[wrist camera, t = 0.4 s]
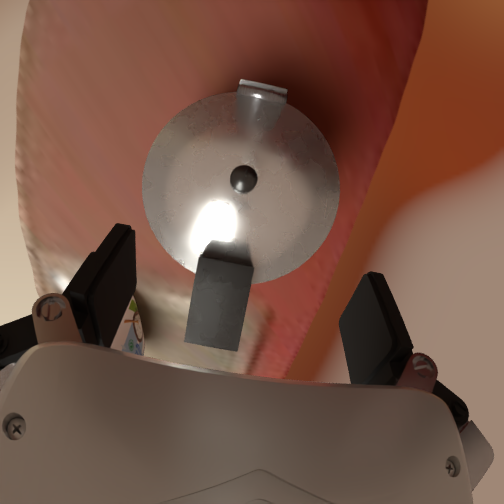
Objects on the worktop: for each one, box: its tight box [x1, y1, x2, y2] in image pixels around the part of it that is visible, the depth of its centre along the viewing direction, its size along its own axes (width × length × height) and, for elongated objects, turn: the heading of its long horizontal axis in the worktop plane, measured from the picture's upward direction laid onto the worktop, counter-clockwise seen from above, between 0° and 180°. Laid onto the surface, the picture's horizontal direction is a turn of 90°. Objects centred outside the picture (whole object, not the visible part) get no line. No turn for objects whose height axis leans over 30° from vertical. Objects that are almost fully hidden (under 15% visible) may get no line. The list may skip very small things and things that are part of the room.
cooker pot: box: [240, 79, 287, 94], centre depth 40 cm, size 27×18×12 cm, turn 167°
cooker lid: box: [142, 84, 340, 351], centre depth 27 cm, size 26×19×3 cm
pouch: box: [111, 296, 145, 356], centre depth 55 cm, size 8×19×20 cm, turn 169°
